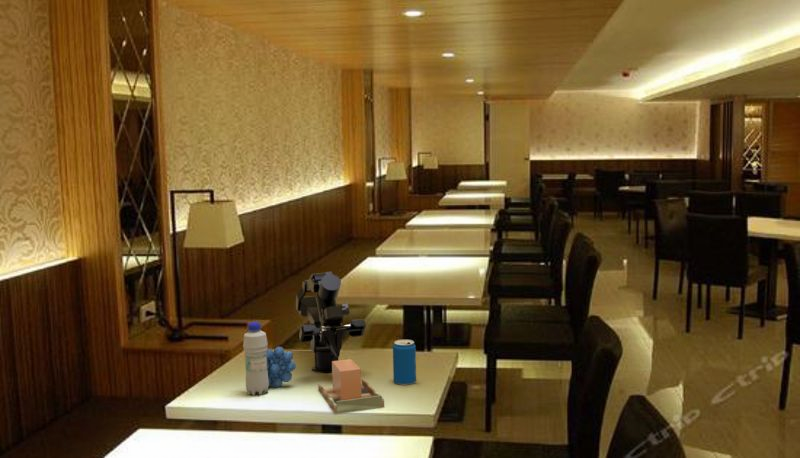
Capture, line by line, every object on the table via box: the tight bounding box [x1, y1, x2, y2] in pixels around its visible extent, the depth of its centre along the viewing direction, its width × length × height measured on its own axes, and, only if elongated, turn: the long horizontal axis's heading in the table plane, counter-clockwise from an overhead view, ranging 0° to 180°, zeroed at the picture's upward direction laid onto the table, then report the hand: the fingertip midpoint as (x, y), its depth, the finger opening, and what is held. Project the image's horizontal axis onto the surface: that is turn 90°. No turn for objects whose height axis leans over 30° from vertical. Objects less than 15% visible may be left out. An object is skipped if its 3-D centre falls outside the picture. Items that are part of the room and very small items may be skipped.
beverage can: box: [392, 339, 417, 386], centre depth 214 cm, size 6×6×12 cm
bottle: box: [242, 321, 270, 396], centre depth 209 cm, size 7×7×20 cm
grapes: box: [267, 346, 297, 389], centre depth 214 cm, size 12×7×12 cm, turn 88°
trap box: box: [317, 377, 385, 415], centre depth 202 cm, size 20×13×4 cm, turn 18°
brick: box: [331, 358, 362, 401], centre depth 205 cm, size 10×6×8 cm, turn 18°
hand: (337, 356), depth 214 cm, fingers closed
